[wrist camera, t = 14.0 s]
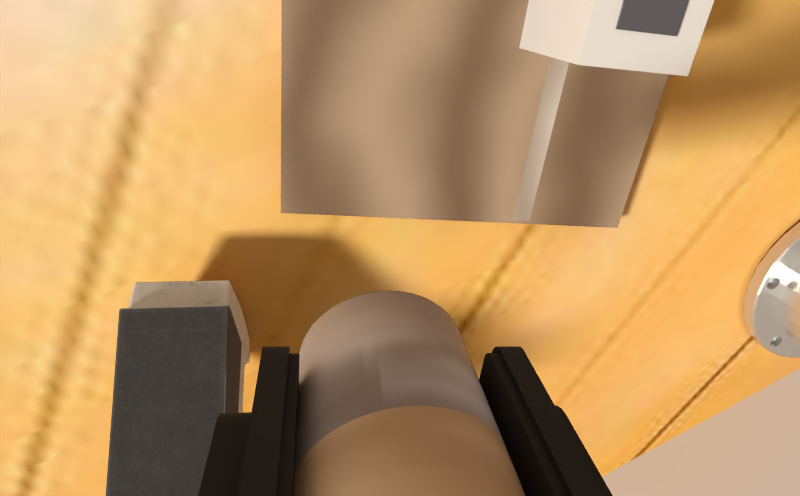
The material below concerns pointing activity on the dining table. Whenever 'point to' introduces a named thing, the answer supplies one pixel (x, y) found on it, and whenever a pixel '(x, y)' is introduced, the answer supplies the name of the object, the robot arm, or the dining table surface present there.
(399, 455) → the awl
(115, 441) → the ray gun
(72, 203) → the dining table surface
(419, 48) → the board
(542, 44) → the white rectangular block
